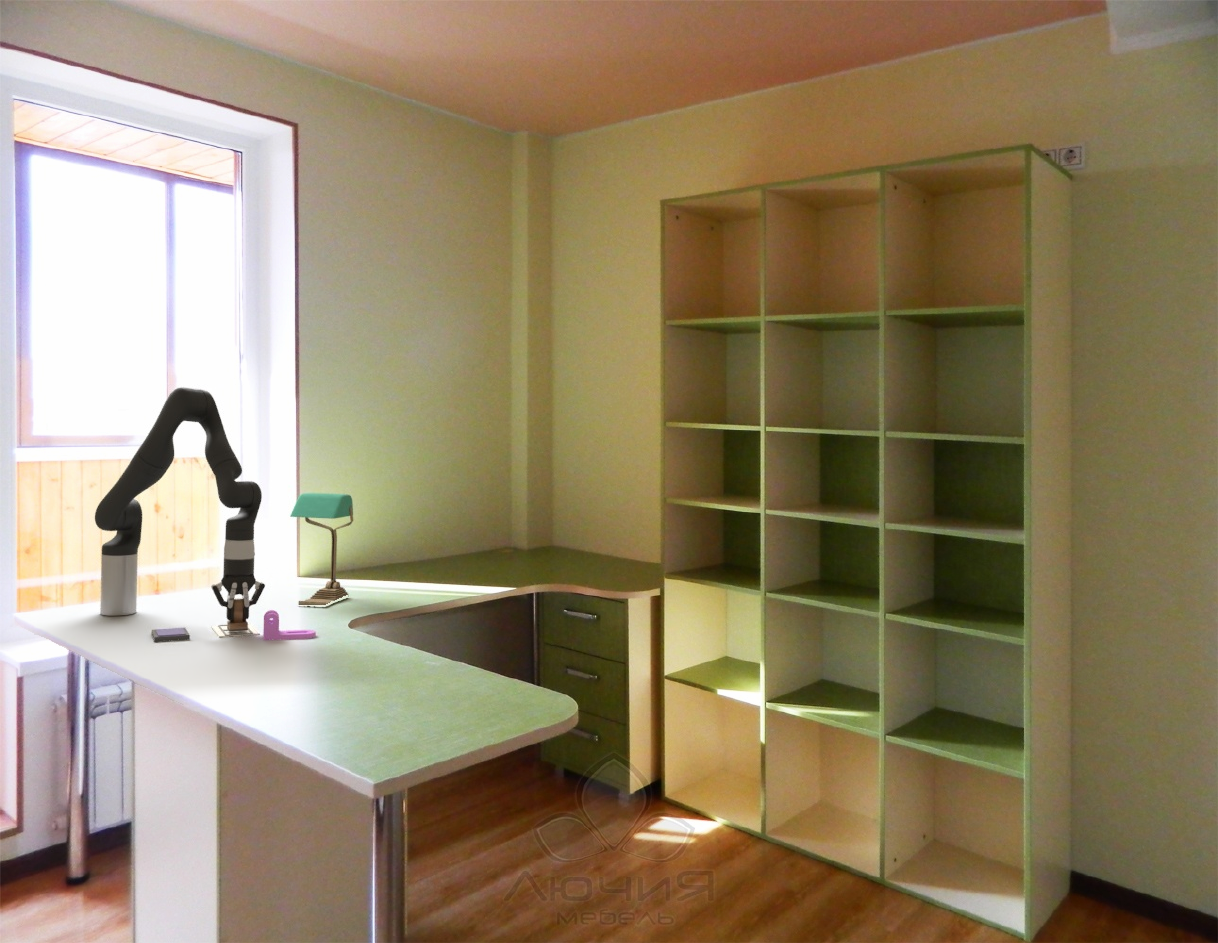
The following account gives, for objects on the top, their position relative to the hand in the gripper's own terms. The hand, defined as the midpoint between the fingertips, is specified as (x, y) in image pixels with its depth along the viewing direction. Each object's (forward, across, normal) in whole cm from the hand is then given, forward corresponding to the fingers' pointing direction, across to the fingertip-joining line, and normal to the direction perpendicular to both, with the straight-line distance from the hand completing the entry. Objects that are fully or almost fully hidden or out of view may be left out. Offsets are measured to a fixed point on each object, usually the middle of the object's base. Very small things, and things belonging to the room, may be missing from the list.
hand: (237, 620), depth 243 cm
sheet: (+3, 0, -4) cm, 5 cm away
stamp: (+2, 0, 0) cm, 2 cm away
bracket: (+4, -12, +9) cm, 15 cm away
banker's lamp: (+4, -32, -40) cm, 51 cm away
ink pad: (+3, +16, -2) cm, 16 cm away
